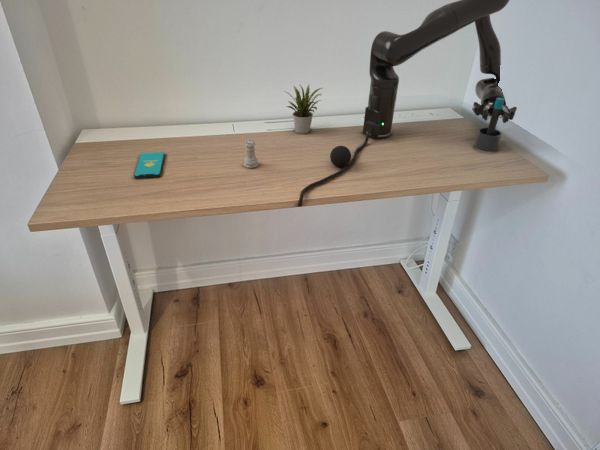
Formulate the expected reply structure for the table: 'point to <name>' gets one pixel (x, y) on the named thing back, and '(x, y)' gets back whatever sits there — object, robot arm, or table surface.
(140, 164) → the passport
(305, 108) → the house plant
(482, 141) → the pen cup
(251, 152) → the rook chess piece
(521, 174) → the table surface
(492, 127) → the marker
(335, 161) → the black round ball
